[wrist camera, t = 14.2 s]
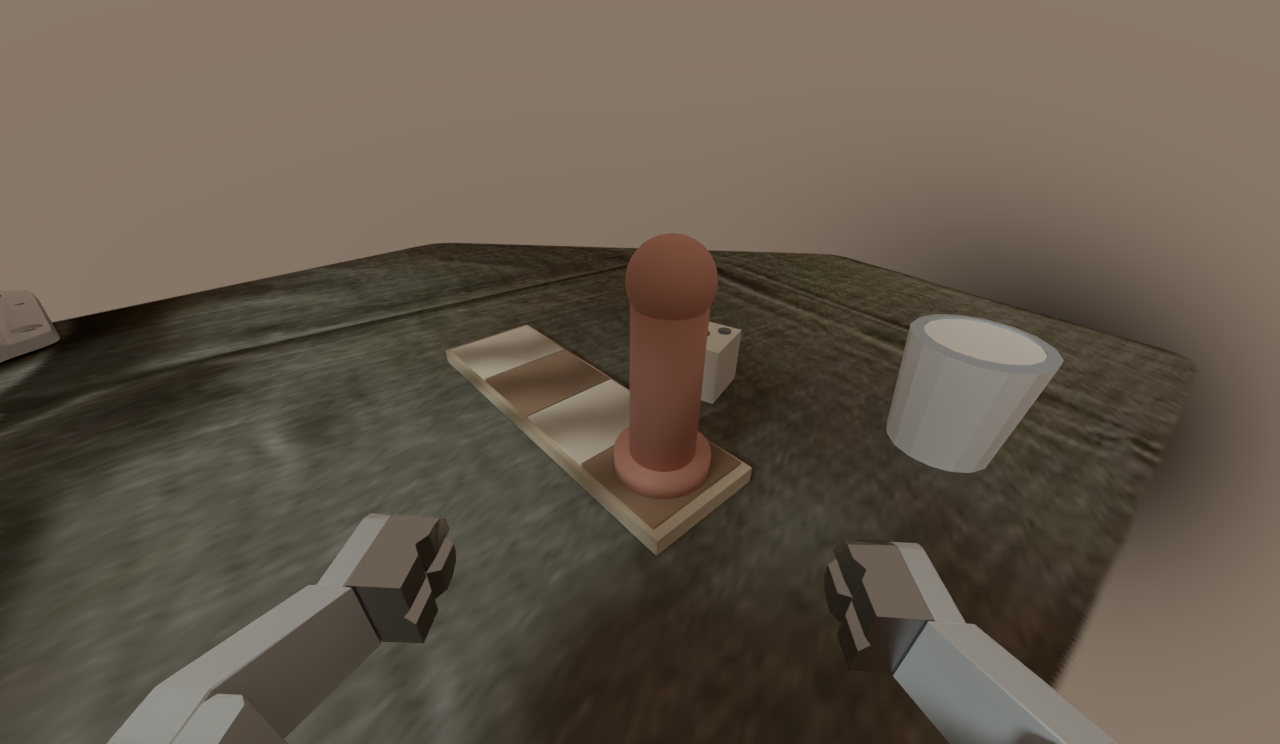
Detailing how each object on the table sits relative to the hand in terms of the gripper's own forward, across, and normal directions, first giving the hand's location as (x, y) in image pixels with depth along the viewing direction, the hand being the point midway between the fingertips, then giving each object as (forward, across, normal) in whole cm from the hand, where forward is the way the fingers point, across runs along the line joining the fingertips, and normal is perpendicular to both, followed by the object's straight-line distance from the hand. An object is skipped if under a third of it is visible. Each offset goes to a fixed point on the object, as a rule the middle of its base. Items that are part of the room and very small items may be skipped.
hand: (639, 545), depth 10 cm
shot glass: (+16, -18, +10) cm, 26 cm away
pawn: (+12, -1, +8) cm, 14 cm away
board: (+17, +5, +10) cm, 21 cm away
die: (+22, -4, +10) cm, 24 cm away
